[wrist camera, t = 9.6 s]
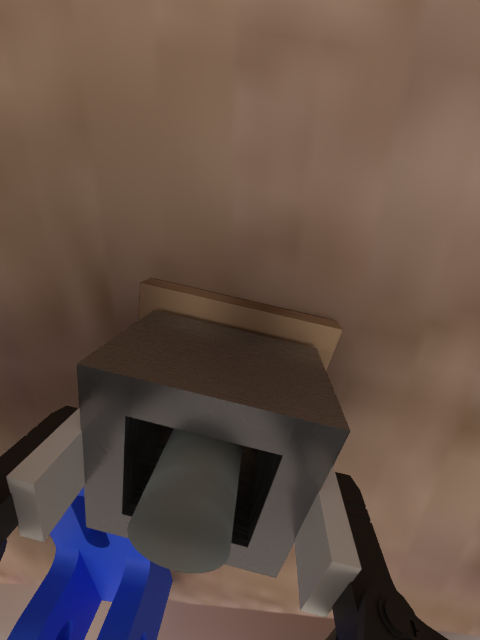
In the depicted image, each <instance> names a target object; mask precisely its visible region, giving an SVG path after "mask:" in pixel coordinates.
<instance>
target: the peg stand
mask: <svg viewBox="0 0 480 640" xmlns="http://www.w3.org/2000/svg"><path fill="white" fill-rule="evenodd" d="M153 310H157V311H161V312H165V313H169V314H173V315H178V316H182V317H186V318H190V319H195V320H199V321H203V322H207V323H211V324H216V325H220V326H224V327H228V328H233V329H237V330H241V331H245V332H249V333H254V334H258V335H262V336H266V337H271V338H275V339H279V340H283V341H287V342H292V343H296V344H300V345H304V346H309V347H313V348H317V351H318V353H319V355H320V358H321V360H322V363H323V365H324V368H325V370H326V371H327V368H328V366H329V363H330V361H331V358H332V356H333V353H334V351H335V348H336V346H337V343H338V341H339V338H340V336H341V333H342V331H343V329H342V328H341V327H340V325H339V324H338V323H337V321H334V320H330V319H326V318H321V317H317V316H313V315H308V314H304V313H300V312H295V311H291V310H287V309H282V308H278V307H274V306H270V305H265V304H261V303H257V302H252V301H248V300H244V299H239V298H235V297H231V296H226V295H222V294H218V293H213V292H209V291H205V290H201V289H196V288H192V287H188V286H183V285H179V284H175V283H170V282H166V281H162V280H157V279H153V278H151V279H148V280H146V281H143V282H141V283H140V297H139V317H138V321H139V320H140V319H142V318H143V317H145V316H146V315H148V314H149V313H150V312H152V311H153ZM242 447H243V445H239V444H235V443H231V442H227V441H223V440H219V439H215V438H211V437H207V436H203V435H199V434H195V433H191V432H187V431H183V430H179V429H175V428H174V429H173V431H172V433H171V435H170V437H169V440H168V442H167V444H166V446H165V448H164V450H163V452H162V454H161V456H160V458H159V461H158V463H157V465H156V467H155V469H154V471H153V473H152V475H151V477H150V480H149V482H148V484H147V486H146V488H145V490H144V492H143V494H142V496H141V498H140V501H139V503H138V505H137V507H136V509H135V511H134V513H133V515H132V517H131V520H130V522H129V524H128V528H127V533H128V537H129V540H130V542H131V543H132V545H133V546H134V548H135V549H136V550H137V551H138V552H139V553H140V554H141V555H143V556H144V557H145V558H147V559H148V560H150V561H151V562H153V563H155V564H157V565H159V566H162V567H164V568H167V569H170V570H174V571H178V572H184V573H204V572H209V571H213V570H215V569H218V568H219V567H221V566H222V565H223V564H225V562H226V561H227V560H228V558H229V555H230V548H231V540H232V531H233V523H234V515H235V506H236V498H237V489H238V481H239V472H240V464H241V455H242Z"/></svg>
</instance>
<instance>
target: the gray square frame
mask: <svg viewBox="0 0 480 640" xmlns="http://www.w3.org/2000/svg"><path fill="white" fill-rule="evenodd" d="M77 375H78V392H79V409H80V427H81V431H82V441H83V459H84V477H85V485H84V497H85V514H86V527H88V528H91V529H95V530H99V531H102V532H106V533H110V534H114V535H117V536H121V537H125V538H129V537H128V533H127V528H128V524H129V522H130V520H131V517H132V515H133V513H134V511H135V509H136V507H137V505H138V503H139V501H140V498H141V496H142V494H143V492H144V490H145V488H146V486H147V484H148V482H149V480H150V477H151V475H152V473H153V471H154V469H155V467H156V465H157V463H158V461H159V458H160V456H161V454H162V452H163V450H164V448H165V446H166V444H167V442H168V440H169V437H170V435H171V433H172V431H173V429H174V428H175V429H179V430H183V431H187V432H191V433H195V434H199V435H203V436H207V437H211V438H215V439H219V440H223V441H227V442H231V443H235V444H239V445H243V447H242V455H241V464H240V472H239V481H238V489H237V498H236V506H235V515H234V523H233V531H232V540H231V548H230V555H229V558H228V560H227V561H226V562H225V564H226V565H229V566H233V567H237V568H241V569H244V570H248V571H252V572H256V573H259V574H263V575H267V576H270V577H274V578H276V577H277V575H278V573H279V571H280V569H281V567H282V565H283V564H284V562H285V560H286V558H287V556H288V554H289V552H290V550H291V548H292V546H293V544H294V542H295V538H296V536H297V534H298V532H299V530H300V528H301V526H302V524H303V522H304V520H305V518H306V516H307V514H308V512H309V510H310V508H311V506H312V504H313V502H314V500H315V498H316V496H317V494H318V492H320V490H321V488H322V486H323V484H324V482H325V480H326V478H327V476H328V474H329V472H330V470H331V468H332V466H333V465H334V463H335V461H336V459H337V457H338V455H339V453H340V451H341V449H342V447H343V445H344V443H345V441H346V439H347V437H348V435H349V433H350V429H349V427H348V424H347V422H346V419H345V417H344V414H343V412H342V410H341V407H340V405H339V402H338V400H337V397H336V395H335V392H334V390H333V387H332V385H331V383H330V380H329V378H328V375H327V373H326V370H325V368H324V365H323V363H322V360H321V358H320V355H319V353H318V351H317V348H313V347H309V346H304V345H300V344H296V343H292V342H287V341H283V340H279V339H275V338H271V337H266V336H262V335H258V334H254V333H249V332H245V331H241V330H237V329H233V328H228V327H224V326H220V325H216V324H211V323H207V322H203V321H199V320H195V319H190V318H186V317H182V316H178V315H173V314H169V313H165V312H161V311H157V310H153V311H152V312H150V313H149V314H148V315H146V316H145V317H143V318H142V319H140V320H139V321H138V322H136V323H135V324H133V325H132V326H130V327H129V328H128V329H126V330H125V331H123V332H122V333H120V334H119V335H117V336H116V337H115V338H113V339H112V340H110V341H109V342H107V343H106V344H105V345H103V346H102V347H100V348H99V349H97V350H96V351H95V352H93V353H92V354H90V355H89V356H87V357H86V358H84V359H83V360H82V361H80V362H79V363H77Z"/></svg>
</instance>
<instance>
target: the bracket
mask: <svg viewBox="0 0 480 640" xmlns="http://www.w3.org/2000/svg"><path fill="white" fill-rule="evenodd" d="M50 535H51V537H52V539H53V541H54V543H55V545H56V554H55V558H54V561H53V564H52V566H51V568H50V570H49V572H48V574H47V576H46V577H45V579H44V580H43V582H42V583H41V585H40V587H39V588H38V590H37V591H36V593H35V594H34V596H33V598H32V599H31V601H30V603H29V604H28V605H27V607H26V608H25V610H24V612H23V613H22V615H21V617H20V618H19V620H18V621H17V623H16V625H15V626H14V628H13V630H12V632H11V634H10V635H9V637H8V639H7V640H84V639H85V636H86V634H87V632H88V629H89V628H90V625H91V623H92V621H93V619H94V616H95V614H96V612H97V610H98V607H99V605H100V603H101V601H102V600H104V601H110V602H112V605H111V607H110V609H109V612H108V614H107V616H106V619H105V621H104V624H103V626H102V628H101V631H100V633H99V636H98V638H97V640H157V636H158V632H159V629H160V625H161V622H162V618H163V614H164V611H165V607H166V603H167V600H168V596H169V592H170V588H171V585H172V577H171V573H170V569H167V568H164V567H162V566H159V565H157V564H155V563H153V562H151V561H150V560H148V559H147V558H145V557H144V556H143V555H141V554H140V553H139V552H138V551H137V550H136V549H135V548H134V546H133V545H132V543H131V542H130V540H129V538H125V537H121V536H117V535H114V534H110V533H106V532H102V531H99V530H95V529H91V528H88V527H86V514H85V497H84V487H83V488H82V490H81V491H80V492H79V494H78V495H77V497H76V498H75V499H74V501H73V502H72V504H71V505H70V506H69V508H68V509H67V511H66V512H65V513H64V515H63V516H62V518H61V519H60V520H59V522H58V523H57V524H56V526H55V527H54V529H53V530H52V531H51V533H50Z"/></svg>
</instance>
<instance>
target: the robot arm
mask: <svg viewBox="0 0 480 640" xmlns="http://www.w3.org/2000/svg"><path fill="white" fill-rule="evenodd" d="M84 485H85V477H84V459H83V441H82V431H81V427H80V409H79V408H74V407H70V406H65V407H63V408H61V409H59V410H57V411H55V412H53V413H51V414H50V415H49V416H48V417H47V418H45V419H44V420H43V421H42V422H41V423H40V424H39V425H38V426H37V427H35V428H34V429H32V430H31V431H30V432H29V433H28V435H27V436H24V437H23V438H22V439H21V440H20V441H18V442H17V443H16V444H15V445H14V446H12V447H11V448H10V449H9V450H8V451H7V452H5V453H4V454H3V455H2V456H1V457H0V560H1V558H2V556H3V554H4V552H5V548H6V544H7V540H6V538H7V537H8V536H9V535H10V534H11V533H12V531H13V530H14V529H15V528H16V527H17V525H18V528H19V532H20V536H23V537H26V538H30V539H34V540H38V541H41V542H44V541H45V540H46V538H47V537H48V536H49V534H50V533H51V531H52V530H53V529H54V527H55V526H56V524H57V523H58V522H59V520H60V519H61V518H62V516H63V515H64V513H65V512H66V511H67V509H68V508H69V506H70V505H71V504H72V502H73V501H74V499H75V498H76V497H77V495H78V494H79V492H80V491H81V490H82V488H83V487H84ZM365 507H366V506H365V503H364V500H363V497H362V494H361V492H360V490H359V488H358V487H357V485H356V484H355V482H354V481H353V479H352V478H351V476H349V475H345V474H341V473H337V472H335V470H334V467H333V466H332V468H331V470H330V472H329V474H328V476H327V478H326V480H325V482H324V484H323V486H322V488H321V490H320V492H318V494H317V496H316V498H315V500H314V502H313V504H312V506H311V508H310V510H309V512H308V514H307V516H306V518H305V520H304V522H303V524H302V526H301V528H300V530H299V532H298V534H297V536H296V538H295V551H296V563H297V575H298V587H299V599H300V610H301V611H304V612H307V613H311V614H315V615H318V616H322V617H326V616H327V615H328V614H329V612H330V611H331V610H332V609H333V615H334V620H335V626H336V628H335V629H334V630H333V631H332V632H331V634H330V635H329V636H328V638H327V639H326V640H448V639H447V638H445V637H444V636H442V635H441V634H439V633H438V632H436V631H435V630H433V629H432V628H430V627H429V626H427V625H426V624H425V623H424V622H422V621H421V620H420V619H419V618H418V617H417V616H416V615H415V613H414V611H413V609H412V608H411V607H410V605H409V604H408V603H407V601H406V600H405V599H404V597H403V596H402V595H401V594H400V593H399V592H398V591H397V590H396V588H395V586H394V584H393V582H392V579H391V577H390V574H389V571H388V568H387V565H386V563H385V560H384V557H383V554H382V551H381V548H380V546H379V543H378V540H377V537H376V534H375V531H374V529H373V526H372V523H370V517H369V514H368V511H367V509H366V508H365Z"/></svg>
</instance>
